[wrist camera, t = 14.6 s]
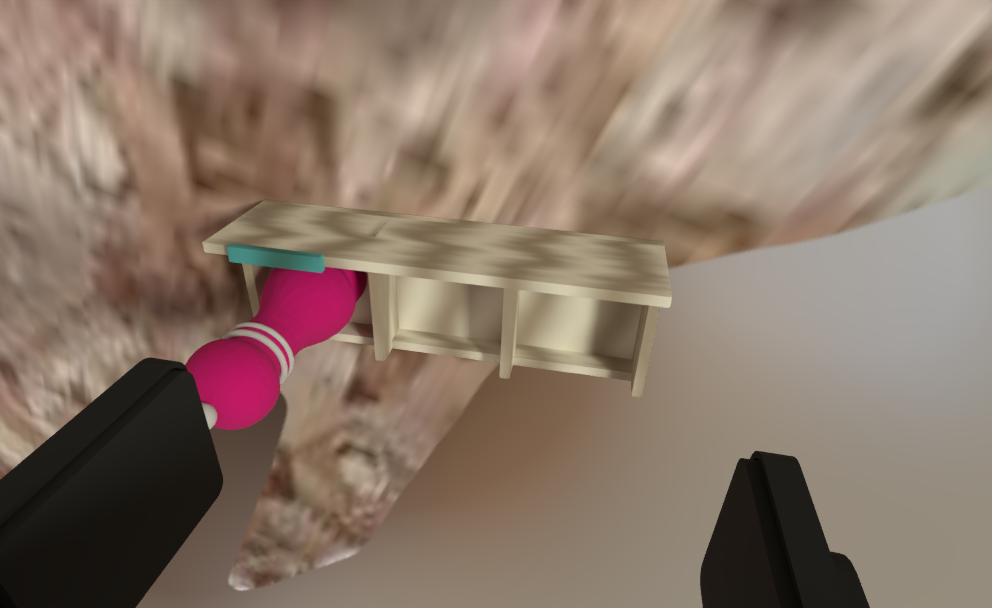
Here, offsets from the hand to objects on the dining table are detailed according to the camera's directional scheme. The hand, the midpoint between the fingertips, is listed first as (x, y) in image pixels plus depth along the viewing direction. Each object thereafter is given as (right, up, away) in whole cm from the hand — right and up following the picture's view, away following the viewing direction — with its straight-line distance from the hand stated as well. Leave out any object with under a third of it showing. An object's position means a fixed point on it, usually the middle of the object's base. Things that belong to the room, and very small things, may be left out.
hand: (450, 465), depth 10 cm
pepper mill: (-13, +6, +42) cm, 44 cm away
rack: (-3, +5, +41) cm, 41 cm away
